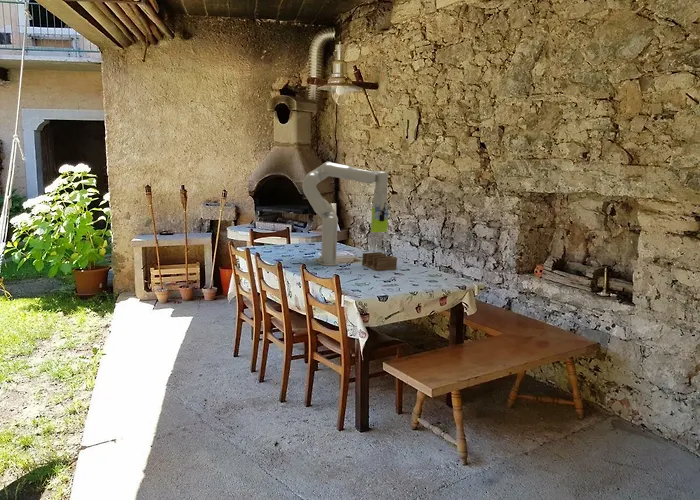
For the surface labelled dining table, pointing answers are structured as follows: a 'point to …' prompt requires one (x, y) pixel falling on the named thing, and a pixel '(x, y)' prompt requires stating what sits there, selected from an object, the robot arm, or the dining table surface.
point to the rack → (379, 261)
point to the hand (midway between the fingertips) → (379, 220)
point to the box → (379, 220)
